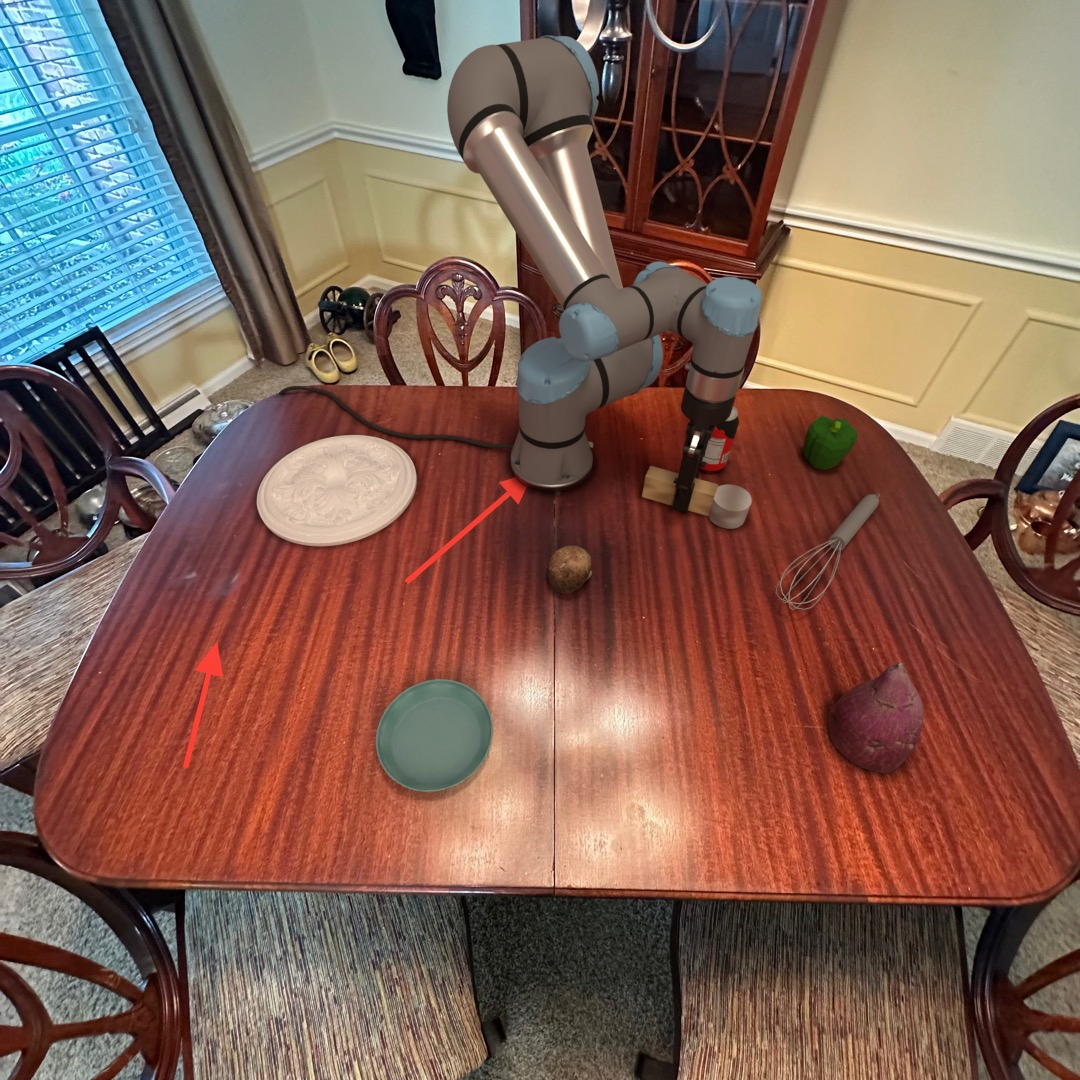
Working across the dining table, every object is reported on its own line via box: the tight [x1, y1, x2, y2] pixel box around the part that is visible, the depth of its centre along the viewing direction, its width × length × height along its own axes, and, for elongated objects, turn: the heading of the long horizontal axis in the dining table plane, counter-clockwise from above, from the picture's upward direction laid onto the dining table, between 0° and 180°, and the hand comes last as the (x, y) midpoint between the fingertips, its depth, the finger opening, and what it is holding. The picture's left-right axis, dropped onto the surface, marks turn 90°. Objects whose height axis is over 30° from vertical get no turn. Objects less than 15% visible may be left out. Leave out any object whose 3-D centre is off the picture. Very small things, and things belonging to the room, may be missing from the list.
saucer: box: [375, 678, 494, 793], centre depth 77 cm, size 15×15×3 cm
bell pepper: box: [802, 415, 858, 471], centre depth 110 cm, size 8×8×10 cm
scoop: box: [641, 465, 753, 530], centre depth 104 cm, size 18×6×5 cm, turn 66°
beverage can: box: [698, 405, 740, 472], centre depth 108 cm, size 6×6×12 cm
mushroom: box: [546, 545, 593, 594], centre depth 93 cm, size 8×8×6 cm
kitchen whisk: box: [775, 492, 881, 611], centre depth 96 cm, size 6×34×6 cm, turn 137°
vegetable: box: [826, 662, 925, 774], centre depth 75 cm, size 10×10×15 cm
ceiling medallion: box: [256, 434, 418, 547], centre depth 108 cm, size 28×28×3 cm
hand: (682, 502), depth 106 cm, fingers closed on scoop, 3 cm apart
